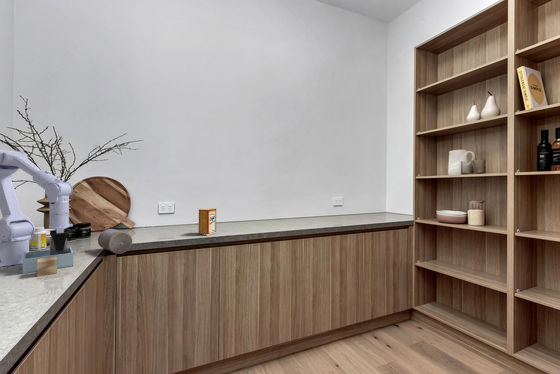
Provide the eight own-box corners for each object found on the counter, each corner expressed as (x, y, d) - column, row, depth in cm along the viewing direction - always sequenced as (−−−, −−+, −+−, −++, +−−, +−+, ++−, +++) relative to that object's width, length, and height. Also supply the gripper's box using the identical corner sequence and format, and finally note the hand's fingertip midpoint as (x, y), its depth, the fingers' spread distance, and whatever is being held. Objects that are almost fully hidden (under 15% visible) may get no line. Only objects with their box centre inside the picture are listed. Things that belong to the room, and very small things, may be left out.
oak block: (37, 277, 90) (37, 262, 90) (37, 273, 94) (37, 258, 94) (56, 273, 93) (56, 259, 93) (56, 270, 97) (56, 256, 97)
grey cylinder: (66, 255, 102) (66, 237, 102) (48, 257, 100) (48, 238, 99) (67, 252, 106) (67, 235, 106) (51, 254, 104) (50, 236, 104)
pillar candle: (114, 251, 130) (128, 256, 121) (93, 245, 123) (106, 251, 114) (123, 231, 134) (137, 235, 124) (103, 225, 127) (116, 229, 117)
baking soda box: (207, 232, 174) (207, 207, 174) (216, 233, 172) (216, 208, 172) (198, 235, 165) (198, 208, 165) (207, 235, 163) (208, 209, 163)
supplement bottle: (46, 247, 130) (46, 226, 130) (46, 249, 126) (46, 227, 126) (30, 249, 126) (30, 227, 126) (30, 251, 122) (30, 229, 122)
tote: (22, 273, 92) (22, 259, 92) (24, 265, 101) (24, 252, 101) (73, 266, 101) (73, 252, 101) (71, 259, 110) (71, 247, 110)
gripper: (74, 214, 100) (74, 251, 100) (71, 211, 111) (71, 244, 111) (49, 216, 96) (49, 254, 96) (48, 212, 106) (48, 247, 107)
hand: (59, 249), depth 103 cm, fingers closed on grey cylinder, 5 cm apart
